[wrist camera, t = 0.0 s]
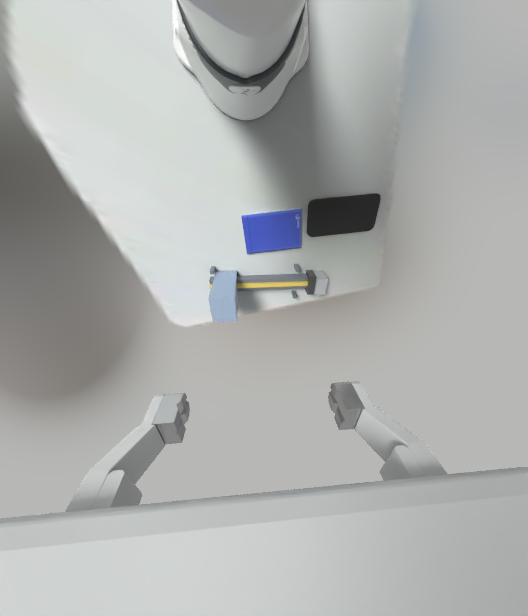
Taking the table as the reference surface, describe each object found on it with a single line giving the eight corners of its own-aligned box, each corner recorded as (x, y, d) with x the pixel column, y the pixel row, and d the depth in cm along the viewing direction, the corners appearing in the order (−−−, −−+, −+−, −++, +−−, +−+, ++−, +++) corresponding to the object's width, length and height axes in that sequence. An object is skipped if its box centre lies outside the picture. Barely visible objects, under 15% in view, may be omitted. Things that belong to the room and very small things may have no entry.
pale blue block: (215, 271, 48) (208, 298, 39) (236, 270, 48) (234, 297, 39) (219, 292, 52) (213, 322, 42) (238, 291, 52) (236, 321, 43)
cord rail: (208, 266, 48) (205, 275, 44) (324, 263, 49) (330, 271, 46) (213, 296, 53) (211, 306, 49) (318, 292, 54) (323, 301, 51)
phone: (373, 230, 45) (307, 237, 45) (371, 229, 46) (306, 236, 45) (382, 193, 41) (309, 200, 40) (379, 192, 41) (308, 199, 41)
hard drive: (301, 208, 41) (241, 215, 41) (301, 248, 46) (247, 254, 46) (300, 207, 42) (241, 214, 42) (299, 245, 47) (247, 251, 47)
